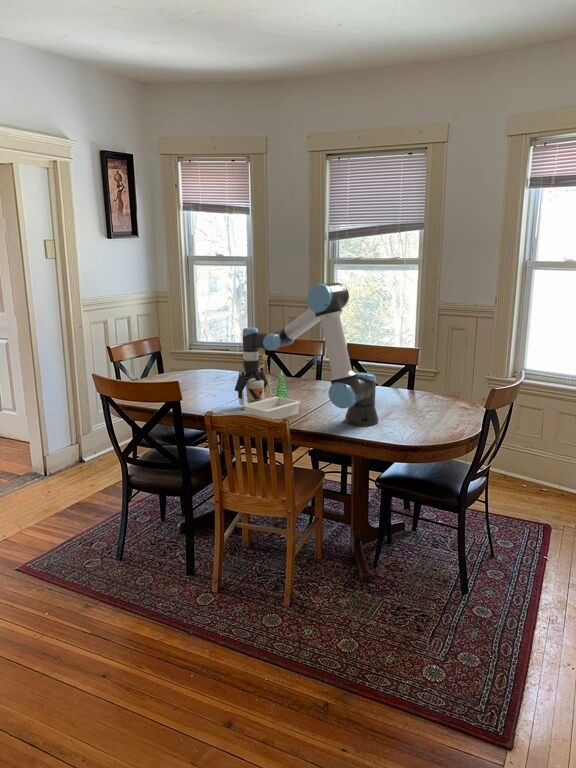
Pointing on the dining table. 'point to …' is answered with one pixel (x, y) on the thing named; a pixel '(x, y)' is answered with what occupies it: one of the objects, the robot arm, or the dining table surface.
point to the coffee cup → (255, 390)
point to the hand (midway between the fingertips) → (251, 402)
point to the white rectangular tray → (273, 408)
